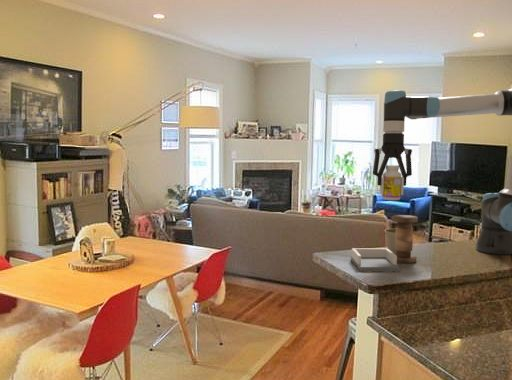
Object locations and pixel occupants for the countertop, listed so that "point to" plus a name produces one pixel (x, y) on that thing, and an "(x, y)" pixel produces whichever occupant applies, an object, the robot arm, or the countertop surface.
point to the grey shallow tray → (375, 259)
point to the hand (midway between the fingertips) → (391, 194)
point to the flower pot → (391, 239)
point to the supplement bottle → (392, 183)
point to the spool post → (404, 238)
